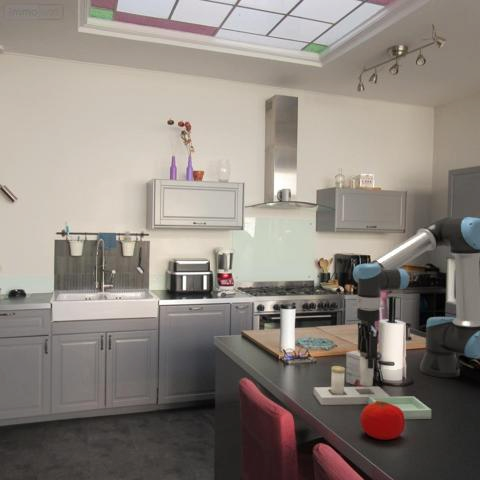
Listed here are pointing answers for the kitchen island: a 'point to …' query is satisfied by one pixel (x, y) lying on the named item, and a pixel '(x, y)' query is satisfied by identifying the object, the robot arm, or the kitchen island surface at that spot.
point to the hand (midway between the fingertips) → (366, 374)
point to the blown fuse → (364, 380)
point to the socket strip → (345, 391)
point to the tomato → (382, 420)
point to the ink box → (353, 368)
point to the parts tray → (406, 406)
